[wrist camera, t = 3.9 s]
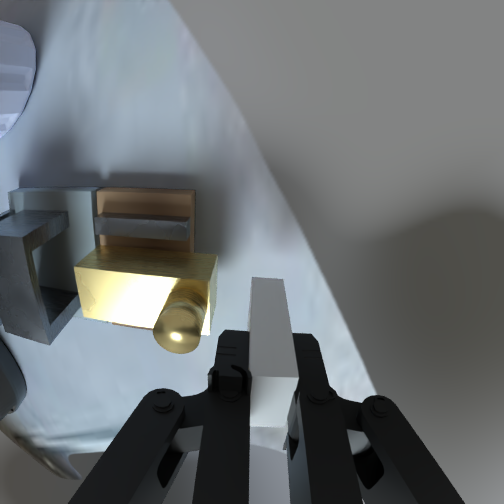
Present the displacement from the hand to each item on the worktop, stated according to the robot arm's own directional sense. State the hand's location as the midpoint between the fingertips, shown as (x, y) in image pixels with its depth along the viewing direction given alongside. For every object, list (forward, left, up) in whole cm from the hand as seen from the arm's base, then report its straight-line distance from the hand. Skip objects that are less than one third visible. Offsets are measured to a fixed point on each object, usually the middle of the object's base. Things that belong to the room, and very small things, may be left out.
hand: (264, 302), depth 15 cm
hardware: (-11, 0, -3) cm, 11 cm away
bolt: (-6, 0, -2) cm, 6 cm away
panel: (-11, 0, -4) cm, 12 cm away
